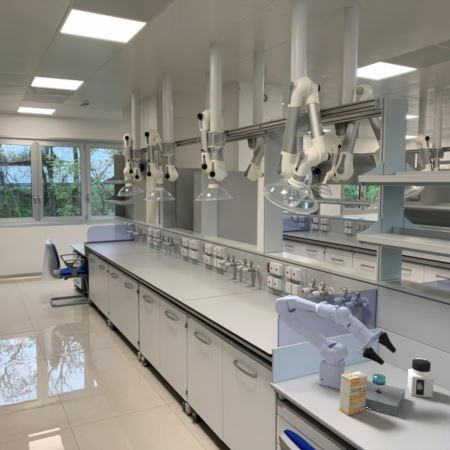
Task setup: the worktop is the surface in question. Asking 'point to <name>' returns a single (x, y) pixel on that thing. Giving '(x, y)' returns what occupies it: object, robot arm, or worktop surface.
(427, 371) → the container
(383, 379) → the plunger
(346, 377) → the supplement box
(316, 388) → the worktop surface
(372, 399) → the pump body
